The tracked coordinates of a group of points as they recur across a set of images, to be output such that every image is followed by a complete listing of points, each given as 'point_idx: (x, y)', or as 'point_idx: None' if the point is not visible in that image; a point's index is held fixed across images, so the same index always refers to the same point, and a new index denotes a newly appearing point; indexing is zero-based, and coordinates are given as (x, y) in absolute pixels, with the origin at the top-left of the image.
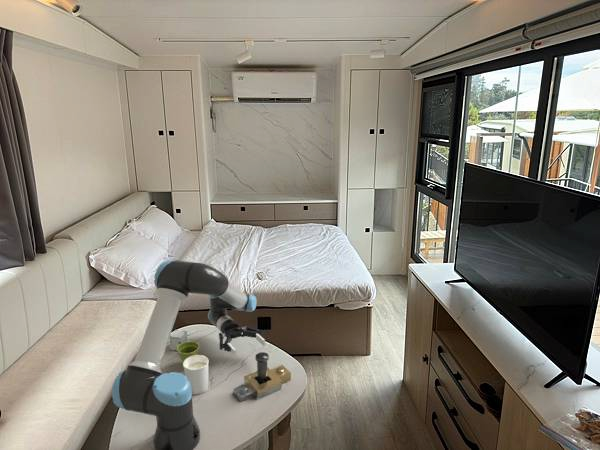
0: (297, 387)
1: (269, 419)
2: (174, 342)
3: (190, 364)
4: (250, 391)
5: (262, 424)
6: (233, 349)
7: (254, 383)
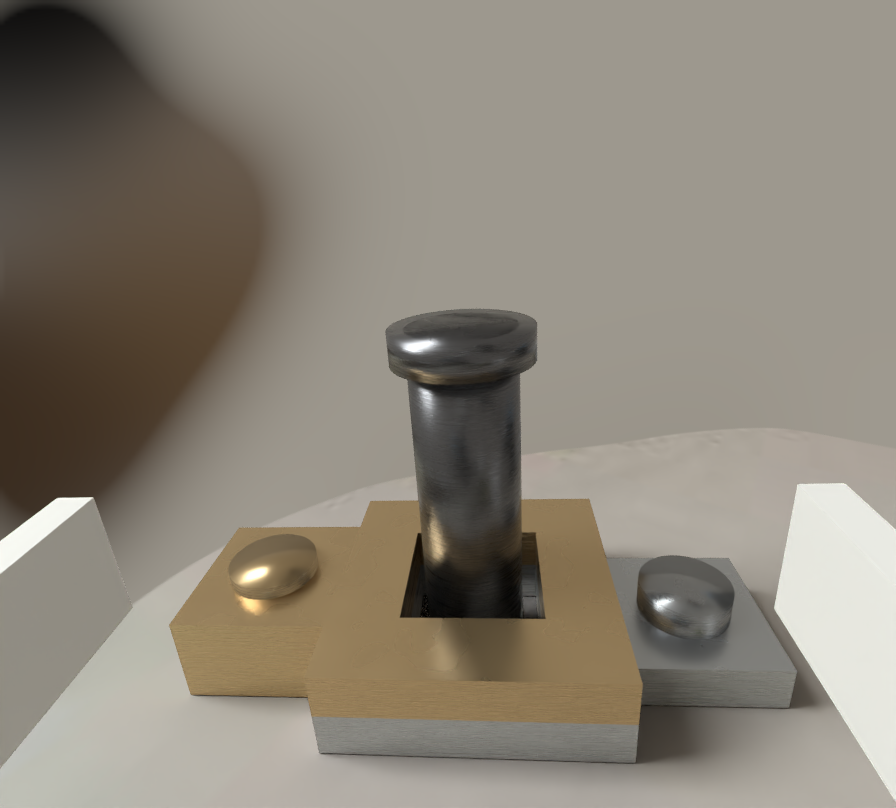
0: (295, 526)
1: (587, 453)
2: None
3: None
4: (627, 573)
5: (633, 448)
6: (872, 511)
7: (574, 558)
